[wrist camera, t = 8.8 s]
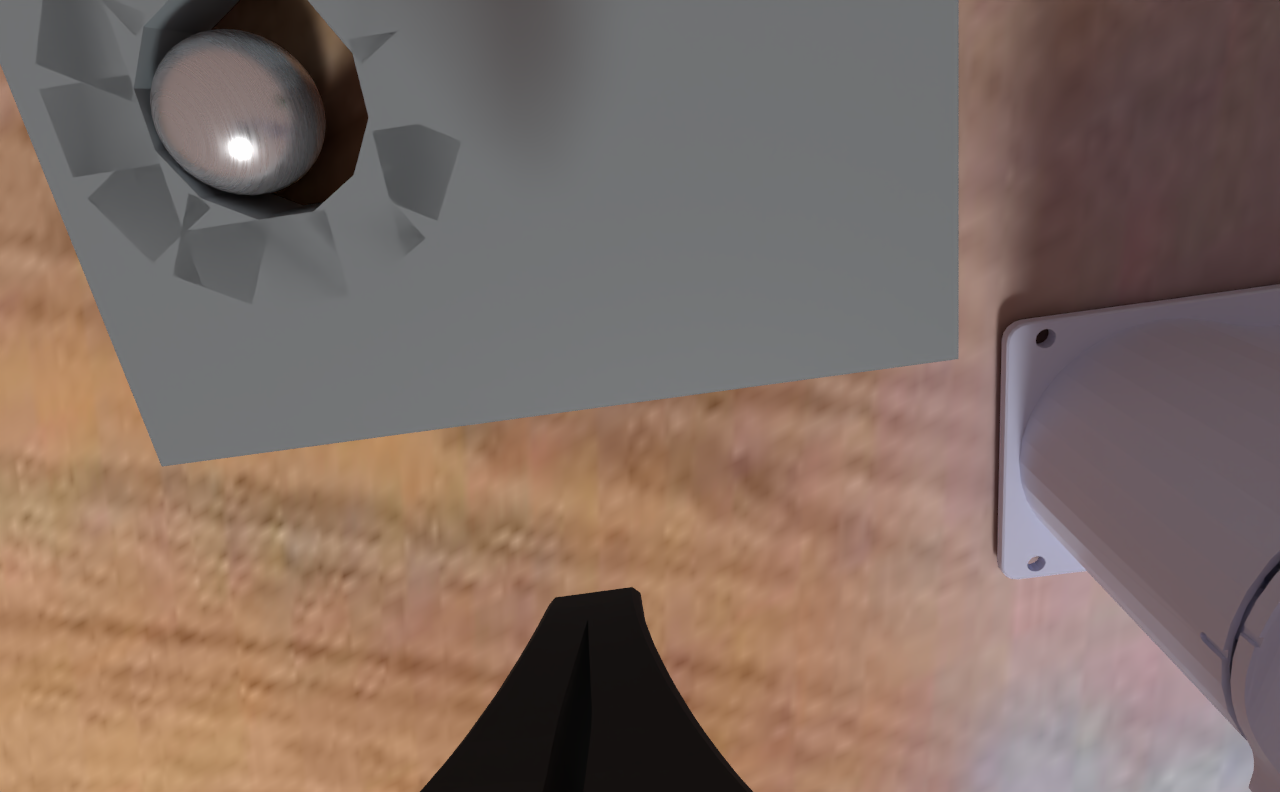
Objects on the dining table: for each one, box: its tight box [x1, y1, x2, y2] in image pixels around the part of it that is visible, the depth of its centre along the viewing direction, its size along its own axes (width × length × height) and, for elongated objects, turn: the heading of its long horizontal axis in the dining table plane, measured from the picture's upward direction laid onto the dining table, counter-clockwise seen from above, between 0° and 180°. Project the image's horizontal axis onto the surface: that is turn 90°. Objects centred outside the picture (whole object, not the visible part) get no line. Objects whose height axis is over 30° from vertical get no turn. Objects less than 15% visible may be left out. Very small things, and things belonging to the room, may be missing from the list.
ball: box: [150, 29, 326, 195], centre depth 18 cm, size 4×4×4 cm
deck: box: [0, 0, 958, 466], centre depth 18 cm, size 20×16×2 cm
